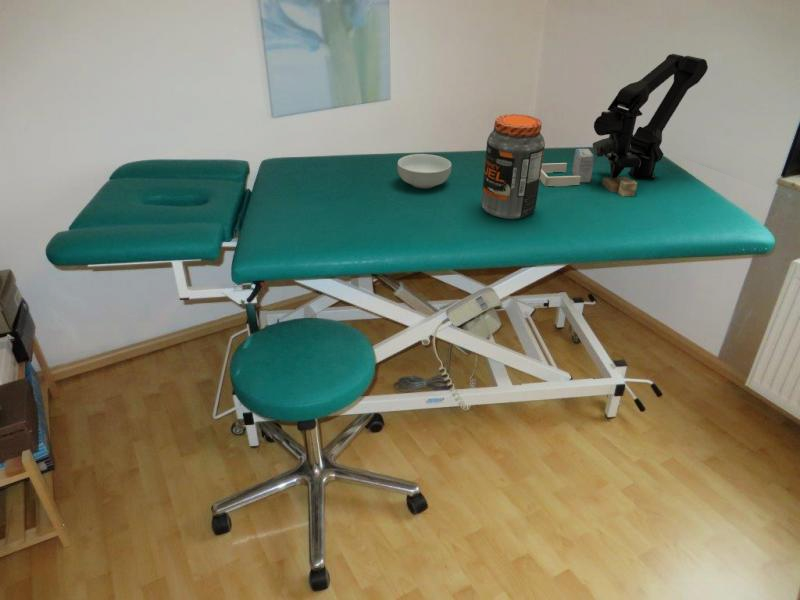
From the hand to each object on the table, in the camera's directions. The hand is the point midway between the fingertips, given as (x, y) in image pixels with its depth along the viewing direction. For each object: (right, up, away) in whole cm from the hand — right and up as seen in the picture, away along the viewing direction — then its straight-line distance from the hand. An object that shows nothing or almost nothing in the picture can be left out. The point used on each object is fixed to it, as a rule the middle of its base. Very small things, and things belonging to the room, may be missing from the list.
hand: (613, 179), depth 193 cm
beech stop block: (+1, -6, -8) cm, 10 cm away
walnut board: (+1, -4, -3) cm, 5 cm away
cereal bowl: (-61, -2, -2) cm, 61 cm away
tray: (-18, +1, +2) cm, 18 cm away
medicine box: (-9, +1, +4) cm, 10 cm away
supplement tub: (-37, -13, -18) cm, 43 cm away
